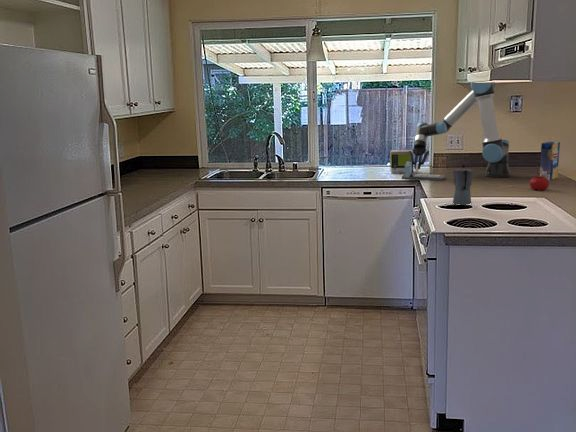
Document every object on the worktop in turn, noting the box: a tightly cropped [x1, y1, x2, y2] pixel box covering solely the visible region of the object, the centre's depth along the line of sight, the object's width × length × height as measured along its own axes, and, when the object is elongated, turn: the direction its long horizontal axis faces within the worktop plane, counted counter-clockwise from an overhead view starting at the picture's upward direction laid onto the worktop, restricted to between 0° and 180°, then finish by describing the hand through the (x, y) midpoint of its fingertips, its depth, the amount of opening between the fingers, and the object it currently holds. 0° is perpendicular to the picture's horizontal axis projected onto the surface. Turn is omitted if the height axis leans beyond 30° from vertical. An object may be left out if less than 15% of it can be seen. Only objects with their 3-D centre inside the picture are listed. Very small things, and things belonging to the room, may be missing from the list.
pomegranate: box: [529, 172, 550, 191], centre depth 336 cm, size 10×10×9 cm
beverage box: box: [539, 141, 561, 181], centre depth 371 cm, size 7×11×22 cm, turn 136°
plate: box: [401, 173, 446, 182], centre depth 384 cm, size 25×12×3 cm, turn 66°
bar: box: [403, 161, 414, 177], centre depth 381 cm, size 22×4×7 cm, turn 164°
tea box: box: [389, 149, 415, 174], centre depth 411 cm, size 15×10×15 cm, turn 84°
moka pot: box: [452, 164, 474, 205], centre depth 297 cm, size 10×15×20 cm, turn 178°
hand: (416, 173), depth 378 cm, fingers closed
